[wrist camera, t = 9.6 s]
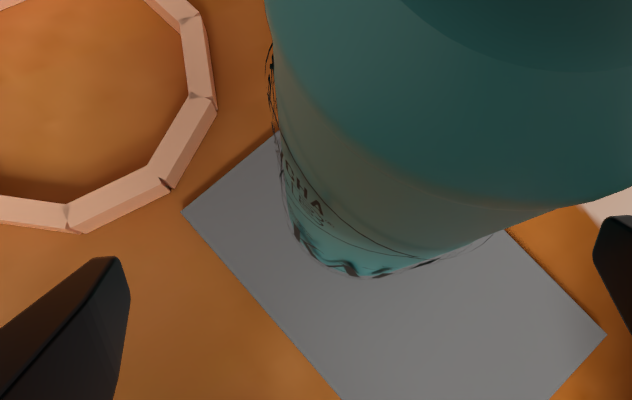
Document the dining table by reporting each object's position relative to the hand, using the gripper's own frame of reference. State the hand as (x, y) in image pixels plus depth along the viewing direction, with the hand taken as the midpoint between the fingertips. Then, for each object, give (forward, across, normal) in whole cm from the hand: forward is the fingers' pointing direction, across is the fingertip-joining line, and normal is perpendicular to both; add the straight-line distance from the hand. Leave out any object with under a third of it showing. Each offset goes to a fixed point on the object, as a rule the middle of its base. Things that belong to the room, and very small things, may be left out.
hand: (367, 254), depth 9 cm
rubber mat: (+9, -3, +8) cm, 12 cm away
